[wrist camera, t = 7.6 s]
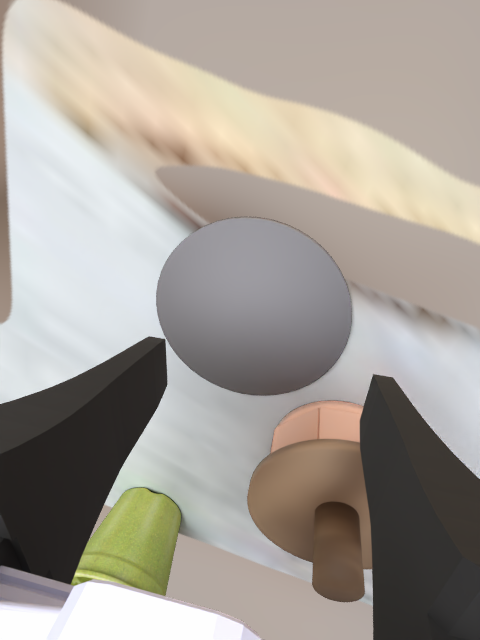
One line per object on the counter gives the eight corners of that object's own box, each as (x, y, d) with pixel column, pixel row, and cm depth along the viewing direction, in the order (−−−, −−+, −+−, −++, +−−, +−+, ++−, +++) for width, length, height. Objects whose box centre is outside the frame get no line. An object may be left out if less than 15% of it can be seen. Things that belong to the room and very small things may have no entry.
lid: (459, 459, 20) (493, 550, 16) (408, 572, 25) (423, 662, 21) (253, 424, 21) (235, 498, 17) (246, 536, 27) (231, 613, 23)
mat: (372, 230, 19) (374, 232, 19) (331, 404, 25) (331, 410, 25) (154, 205, 21) (150, 207, 21) (163, 374, 27) (160, 378, 27)
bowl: (418, 414, 24) (435, 471, 20) (383, 501, 29) (392, 561, 25) (280, 389, 26) (272, 439, 22) (267, 476, 30) (258, 529, 26)
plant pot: (157, 462, 32) (106, 567, 25) (218, 529, 35) (188, 641, 28) (87, 485, 36) (24, 582, 29) (147, 544, 39) (104, 646, 32)
